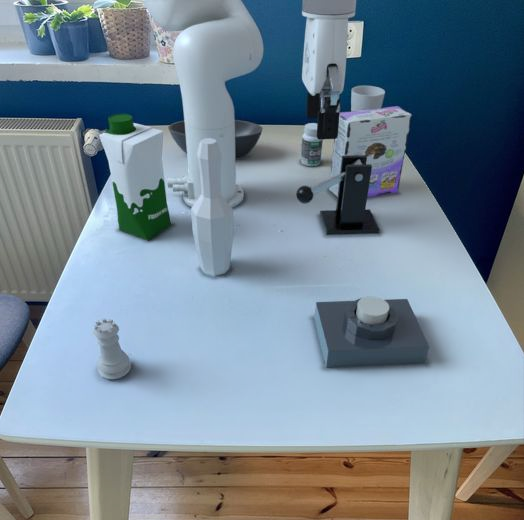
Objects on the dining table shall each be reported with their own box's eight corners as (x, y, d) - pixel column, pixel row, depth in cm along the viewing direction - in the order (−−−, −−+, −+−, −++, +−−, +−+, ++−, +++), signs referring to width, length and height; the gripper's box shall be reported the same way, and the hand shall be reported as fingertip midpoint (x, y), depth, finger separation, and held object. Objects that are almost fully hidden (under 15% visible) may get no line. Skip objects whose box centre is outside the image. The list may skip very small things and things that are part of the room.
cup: (376, 148, 134) (384, 97, 126) (344, 145, 135) (350, 94, 127) (377, 136, 140) (385, 87, 132) (347, 133, 141) (352, 84, 133)
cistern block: (326, 368, 75) (329, 340, 71) (314, 318, 83) (316, 292, 79) (424, 363, 76) (432, 336, 72) (403, 315, 84) (409, 288, 80)
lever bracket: (326, 236, 101) (333, 170, 93) (319, 216, 107) (325, 152, 99) (378, 235, 102) (390, 169, 94) (368, 214, 108) (379, 151, 99)
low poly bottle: (217, 255, 96) (210, 129, 81) (241, 269, 93) (239, 141, 78) (189, 269, 93) (177, 140, 78) (213, 284, 89) (205, 153, 74)
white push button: (359, 325, 74) (361, 316, 73) (353, 306, 78) (354, 296, 76) (390, 324, 75) (393, 314, 73) (383, 305, 78) (385, 295, 77)
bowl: (261, 165, 125) (261, 138, 121) (166, 163, 125) (164, 136, 121) (263, 145, 134) (263, 120, 130) (175, 143, 134) (172, 117, 130)
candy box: (385, 182, 119) (398, 104, 108) (398, 194, 115) (413, 114, 104) (327, 190, 116) (335, 110, 105) (339, 202, 112) (348, 121, 101)
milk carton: (143, 212, 107) (127, 107, 94) (179, 224, 104) (168, 117, 90) (112, 231, 102) (91, 122, 88) (148, 244, 98) (132, 133, 85)
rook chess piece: (100, 359, 75) (89, 314, 70) (133, 358, 76) (124, 313, 70) (96, 382, 72) (83, 336, 67) (130, 380, 72) (120, 335, 67)
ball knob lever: (301, 209, 100) (294, 195, 98) (299, 201, 102) (292, 187, 100) (367, 178, 97) (362, 163, 95) (363, 171, 99) (358, 155, 97)
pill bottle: (307, 168, 124) (310, 131, 119) (296, 160, 127) (298, 124, 122) (324, 164, 126) (328, 127, 120) (313, 157, 129) (316, 121, 124)
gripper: (293, -6, 82) (290, 111, 93) (313, 14, 69) (306, 148, 80) (342, -8, 82) (333, 110, 94) (370, 13, 69) (356, 146, 81)
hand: (321, 127), depth 87 cm, fingers open, 9 cm apart
